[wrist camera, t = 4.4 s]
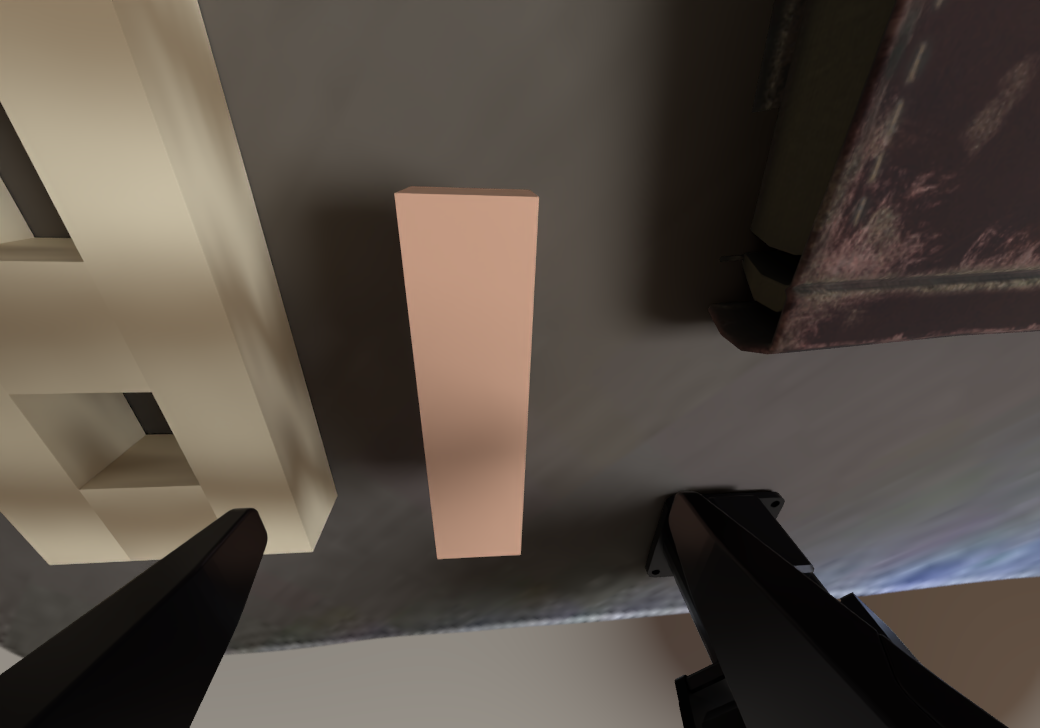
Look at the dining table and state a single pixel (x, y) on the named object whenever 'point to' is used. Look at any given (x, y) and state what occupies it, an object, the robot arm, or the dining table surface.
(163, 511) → the cream two-hole slab
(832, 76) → the diary
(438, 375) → the pink rectangular block
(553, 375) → the dining table surface
